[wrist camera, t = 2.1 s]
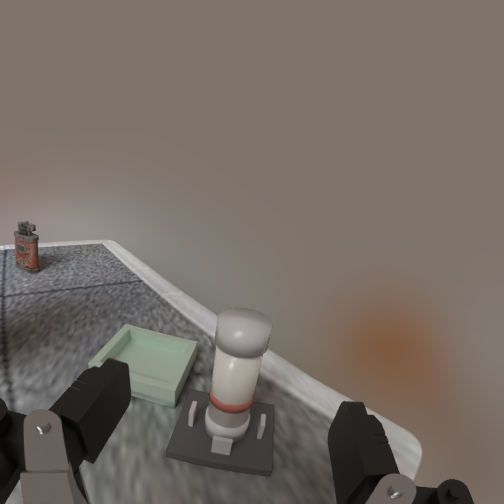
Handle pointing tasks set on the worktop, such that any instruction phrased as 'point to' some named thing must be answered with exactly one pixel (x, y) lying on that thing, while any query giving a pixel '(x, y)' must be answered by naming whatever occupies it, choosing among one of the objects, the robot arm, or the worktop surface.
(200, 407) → the grey base plate
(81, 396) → the robot arm
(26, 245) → the lighter
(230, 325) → the fuse
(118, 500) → the worktop surface
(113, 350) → the tray
